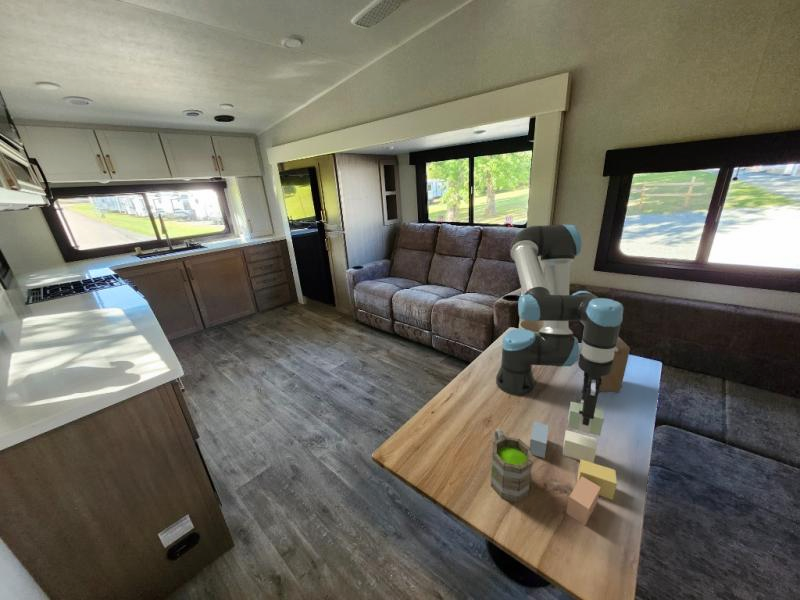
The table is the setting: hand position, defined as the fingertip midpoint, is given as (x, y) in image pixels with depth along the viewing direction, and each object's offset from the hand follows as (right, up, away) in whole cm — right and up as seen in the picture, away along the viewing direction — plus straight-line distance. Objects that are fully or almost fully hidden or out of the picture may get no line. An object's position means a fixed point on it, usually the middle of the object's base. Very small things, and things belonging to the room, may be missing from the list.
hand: (583, 425), depth 89 cm
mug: (-23, -14, -1) cm, 27 cm away
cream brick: (+1, -11, +4) cm, 11 cm away
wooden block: (+28, +2, +34) cm, 43 cm away
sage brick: (0, 0, 0) cm, 0 cm away
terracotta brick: (-7, -17, -11) cm, 21 cm away
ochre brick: (-1, -15, -6) cm, 16 cm away
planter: (+14, +12, +62) cm, 65 cm away
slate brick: (-10, -10, +8) cm, 16 cm away
